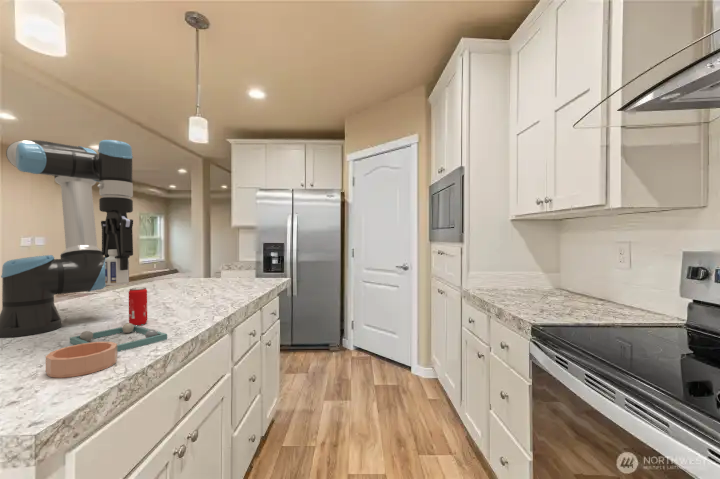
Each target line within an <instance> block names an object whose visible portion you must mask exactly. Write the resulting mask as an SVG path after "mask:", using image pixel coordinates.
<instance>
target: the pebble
mask: <svg viewBox="0 0 720 479" xmlns="http://www.w3.org/2000/svg"><path fill="white" fill-rule="evenodd" d="M121 327H122V330H123V333H125V334H130V333H132V332H134V331H133V330H134V325H133V324H131V323H129V322H127V323H125V324H123V325H122V326H121Z"/></svg>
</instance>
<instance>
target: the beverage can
mask: <svg viewBox="0 0 720 479" xmlns="http://www.w3.org/2000/svg"><path fill="white" fill-rule="evenodd" d="M147 322H148V290H147V287H133V288H129V289H128V323H131V324H133V325H139V326H142V325H141V324H144V325H146V324H147ZM145 323H146V324H145Z"/></svg>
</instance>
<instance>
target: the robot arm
mask: <svg viewBox="0 0 720 479" xmlns="http://www.w3.org/2000/svg"><path fill="white" fill-rule="evenodd" d="M97 152H98V153H97ZM97 152H96V151H95V150H93V149H91V148H87V147H84V146H80V145H78V146H77V145H71V144H63V143H58V142H53V141H48V140H46V141H45V140H39V139H25V140H24V139H23V140H16V141H14V142H12V143H10V144H9V145H8V147H6V150H5V156H6V159H7V161H8V162H9V163H10V164H11V165H12V166H14V167H16V169H17V170H18V171H19V172H23V173H30V174H33V175H45V176H51V177H52V176H53V177H54V182H55V183H56V184H58V185H59V186H60V189H61V192H60V193H61V201H62V202H61V203H62V206H61V207H62V216H63V229H64V231H63V232H64V243H65V244H64V245H65V250H64V251H63V252H61V253H60V258H55V257H54V255H52V254H47V255H37V256H36V255H35V256H29V257H21V258H16V259H9V260H7V261H5V262H4V263H3V264H2V269H1V275H0V278H1V279H2V280H1V282H2V284H1V285H2V286H1V287H2V289H1V290H2V291H1V292H2V293H1V295H2V296H1V297H2V298H1V299H2V300H1V301H2V305H1V306H2V307H1V308H2V309H1V311H0V338H14V337H21V336H22V337H23V336H24V337H25V336H30V335H38V334H42V333H47V332H51V331H54V330H57V329H60V328H62V318H61V316H60V315H61V314H59V311H58V310H57V309H58V308H57V307H56V305H55V295H64V294H73V293H82V292H83V293H85V292H87V293H88V292H93V291H100V290H104V289H105V288H106V287H107V285H106V284H105V259H106V258H107V257H109V255H108V250H112V249H117V255H118V256H115V259H116V283H122V282H129V283H130V264H129V265H128V259H129V258H130V257H132V256H133V255H134V242H133V241H134V240H133V236H134V234H133V226H134V219H129V218H128V215H127V214H130V213H132V212H133V211H134V207H133V206H134V205H133V204H134V203H133V202H134V201H133V199H132V198H133V197H134V187H133V186H134V184H133V158H134V157H133V148H132V145H130V144H129V143H128V142H125V141H121V140H115V139H103V140H100V141H99V143H98V149H97ZM97 182H98V184H97ZM96 184H97V188H99V191H98V192H99V193H98V194H99V196H100V198H99V200H98V202H99V204H98V205H99V206H98V207H99V211H100V212H102V213H106V216H105V220H101V221H100V226H101V249H100V248H99V247H98V239H97V230H96V221H95V220H96V218H95V207H94V198H93V197H94V196H93V186H95V185H96ZM118 258H120V259H118Z"/></svg>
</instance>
